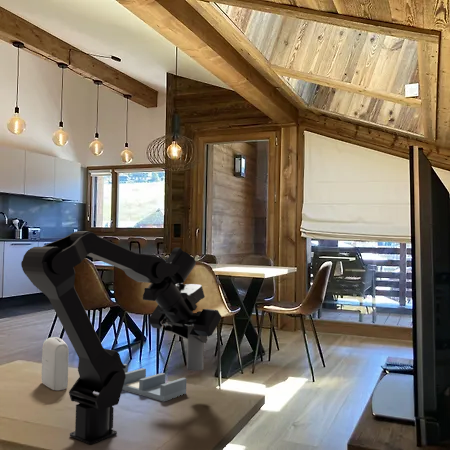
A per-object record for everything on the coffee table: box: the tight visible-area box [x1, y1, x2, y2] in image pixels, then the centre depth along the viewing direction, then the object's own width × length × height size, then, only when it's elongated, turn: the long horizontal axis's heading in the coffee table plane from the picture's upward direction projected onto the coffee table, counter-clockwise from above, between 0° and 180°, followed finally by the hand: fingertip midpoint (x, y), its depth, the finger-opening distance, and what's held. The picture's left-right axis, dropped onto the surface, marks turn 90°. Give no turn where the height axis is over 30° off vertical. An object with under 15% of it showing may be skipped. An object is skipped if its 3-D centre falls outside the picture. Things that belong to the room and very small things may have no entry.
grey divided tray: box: [122, 363, 187, 402], centre depth 121 cm, size 8×23×4 cm, turn 53°
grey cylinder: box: [186, 325, 205, 372], centre depth 116 cm, size 4×4×13 cm
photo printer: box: [41, 336, 70, 391], centre depth 122 cm, size 10×4×12 cm, turn 39°
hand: (199, 340), depth 117 cm, fingers closed on grey cylinder, 4 cm apart
